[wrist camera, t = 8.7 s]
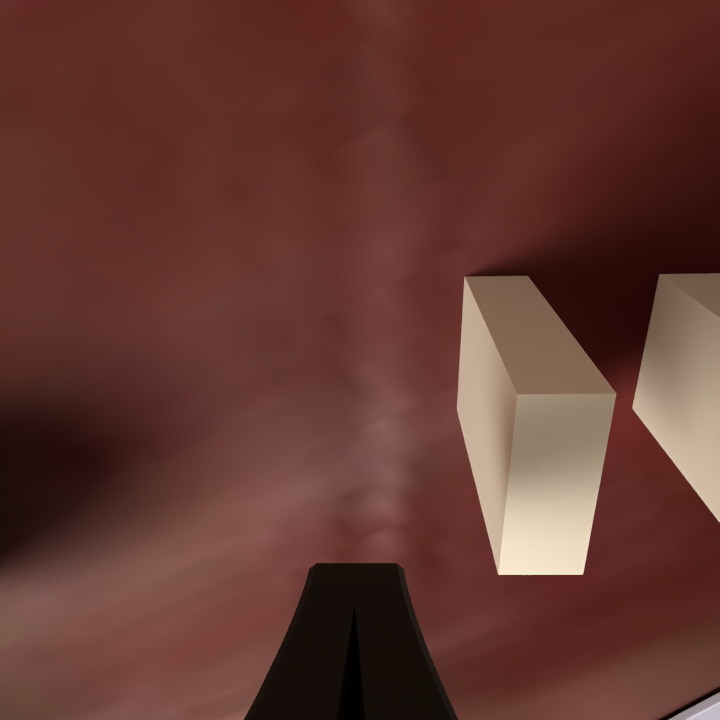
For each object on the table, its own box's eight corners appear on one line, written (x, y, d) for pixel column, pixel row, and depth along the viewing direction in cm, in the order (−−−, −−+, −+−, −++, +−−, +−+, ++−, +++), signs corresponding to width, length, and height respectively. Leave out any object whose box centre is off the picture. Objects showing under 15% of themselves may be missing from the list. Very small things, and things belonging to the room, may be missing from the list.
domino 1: (528, 275, 18) (616, 393, 11) (514, 409, 19) (583, 574, 13) (464, 276, 18) (517, 394, 11) (457, 409, 19) (498, 574, 13)
